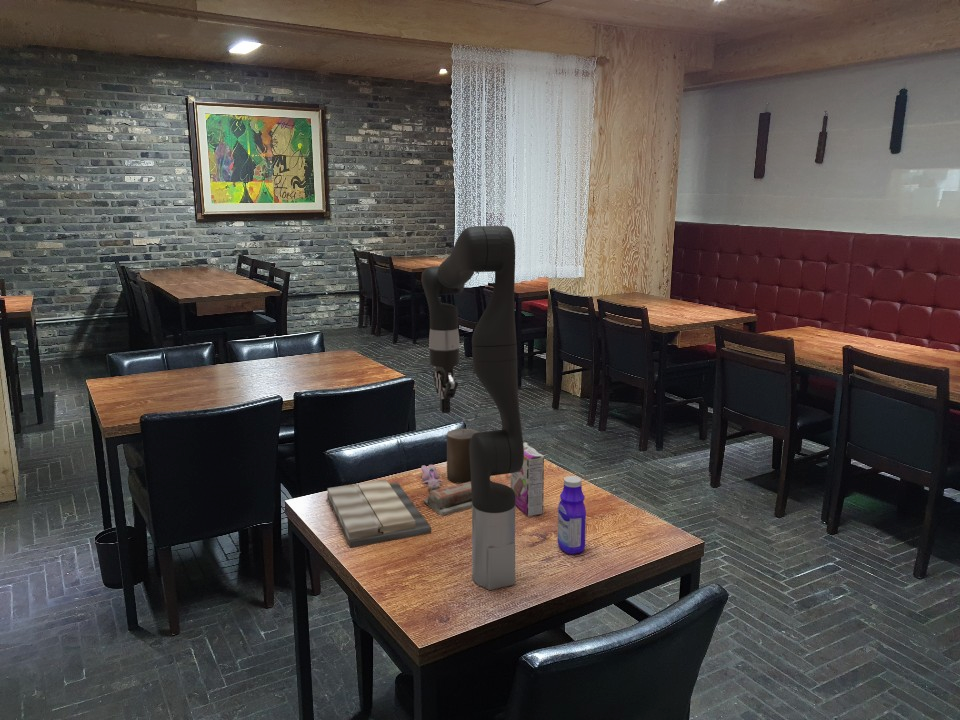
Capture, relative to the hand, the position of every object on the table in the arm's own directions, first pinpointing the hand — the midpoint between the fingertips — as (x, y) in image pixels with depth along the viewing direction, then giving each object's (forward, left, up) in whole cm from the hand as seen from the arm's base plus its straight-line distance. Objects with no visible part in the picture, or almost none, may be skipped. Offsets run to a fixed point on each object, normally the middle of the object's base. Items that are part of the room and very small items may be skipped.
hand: (445, 412), depth 178 cm
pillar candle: (+19, -12, -27) cm, 35 cm away
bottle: (-31, -20, -27) cm, 46 cm away
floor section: (+4, +18, -27) cm, 33 cm away
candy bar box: (-7, -20, -27) cm, 34 cm away
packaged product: (+3, -5, -28) cm, 28 cm away
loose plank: (+4, +16, -26) cm, 30 cm away
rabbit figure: (+18, -2, -27) cm, 33 cm away
